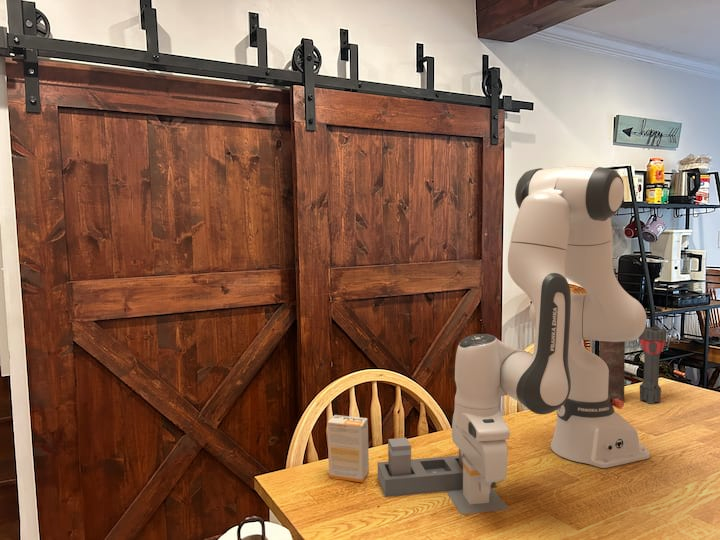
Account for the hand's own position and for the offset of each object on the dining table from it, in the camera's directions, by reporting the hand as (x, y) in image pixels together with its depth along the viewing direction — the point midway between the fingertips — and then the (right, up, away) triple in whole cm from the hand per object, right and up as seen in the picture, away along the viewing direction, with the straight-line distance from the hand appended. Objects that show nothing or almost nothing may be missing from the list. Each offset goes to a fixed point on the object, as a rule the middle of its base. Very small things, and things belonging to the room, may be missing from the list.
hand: (475, 482), depth 107 cm
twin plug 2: (+1, -1, +9) cm, 9 cm away
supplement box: (-26, -3, +12) cm, 29 cm away
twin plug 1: (-15, -2, +6) cm, 16 cm away
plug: (0, -4, +1) cm, 4 cm away
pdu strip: (-7, -3, +8) cm, 11 cm away
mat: (0, -4, +1) cm, 4 cm away
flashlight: (+67, +2, +59) cm, 90 cm away
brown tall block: (+55, +2, +59) cm, 81 cm away
